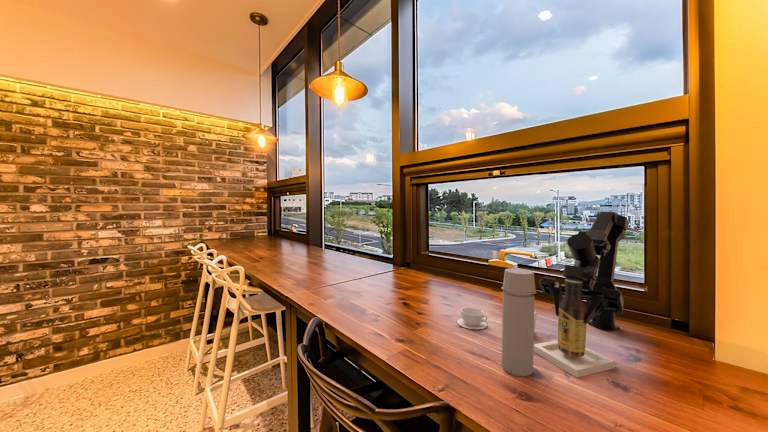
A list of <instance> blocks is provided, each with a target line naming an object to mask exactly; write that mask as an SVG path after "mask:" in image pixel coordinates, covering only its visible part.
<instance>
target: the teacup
mask: <svg viewBox="0 0 768 432" xmlns="http://www.w3.org/2000/svg"><path fill="white" fill-rule="evenodd" d="M460 314H461V318H459V319H457V324H458V325H459V326H460V327H463V328H464V329H465V328H466V329H468V330H482V329H486V328H487V327H488V323H487V321H488V315H486V314H484V311H483V310H482V309H479V308H477V307H464V308H461V310H460ZM484 318H485V319H484ZM483 319H484V320H483Z"/></svg>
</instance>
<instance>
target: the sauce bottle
mask: <svg viewBox="0 0 768 432" xmlns="http://www.w3.org/2000/svg"><path fill="white" fill-rule="evenodd" d="M563 285H565V292H564V295H563V299H562V301H561V303H560V306H559V316H558V317H557V318H558V319H557V321H558V322H557V325H558V327H557V340H558V348H559V350H560V351H561V352H563V353H564V354H566V355H568V356H573V357H582V356H584V353H585V347H586V346H587V345H586V342H587V324H585V323H584V319H585V315H586V313H587V304H586V303H585V302H584V300H583V299H582V298H583V296H582V287H583V281H581V280H578V279H565V278H564V284H563Z"/></svg>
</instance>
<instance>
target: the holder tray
mask: <svg viewBox="0 0 768 432" xmlns="http://www.w3.org/2000/svg"><path fill="white" fill-rule="evenodd" d="M533 353H535V354H537V355H539V356H540V357H542V358H543V359H545V360H547V361H548V362H550V363H552V364H554V365H555V366H556V367H559V368H560V369H562V370H563V371H565V372H567V373H568V374H570V375H571V374H572V375H571V376H573V377H574V378H576V377H577V378H580V377H579V376H581V377H585V376H589V375H593V374H598V373H602V372H605V371H608V370H609V371H610V370H612V369H615V368H616V367H615V363H616V361H615V360H613V359H611V358H609V357H607V356H604V355H602V354H601V353H598V352H597V351H594V350H592V349H590V348H588V347H586V346H585V353H584V356H582V357H573V356H568V355H566V354H564V353H563V352H561V351H560V350H559V348H558V339H555V340H550V341H544V342H539V343H535V344H534V346H533ZM584 375H585V376H584Z"/></svg>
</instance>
